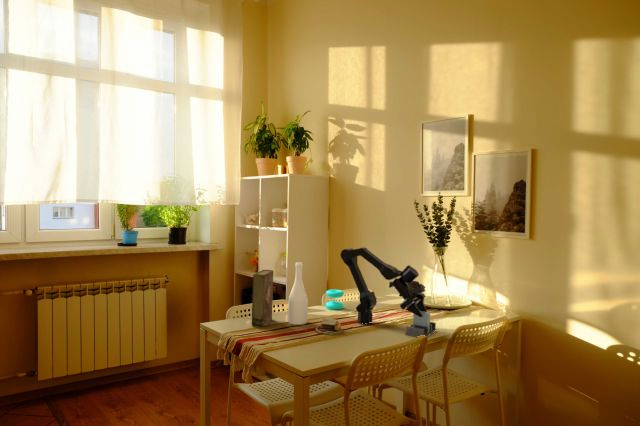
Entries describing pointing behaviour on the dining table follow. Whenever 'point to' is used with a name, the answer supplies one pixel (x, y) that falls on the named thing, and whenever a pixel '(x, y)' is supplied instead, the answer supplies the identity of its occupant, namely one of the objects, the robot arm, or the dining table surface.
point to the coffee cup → (413, 284)
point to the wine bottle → (298, 299)
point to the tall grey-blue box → (422, 319)
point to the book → (262, 297)
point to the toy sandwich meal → (329, 326)
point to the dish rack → (420, 330)
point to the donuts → (334, 304)
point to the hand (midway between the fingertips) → (424, 315)
